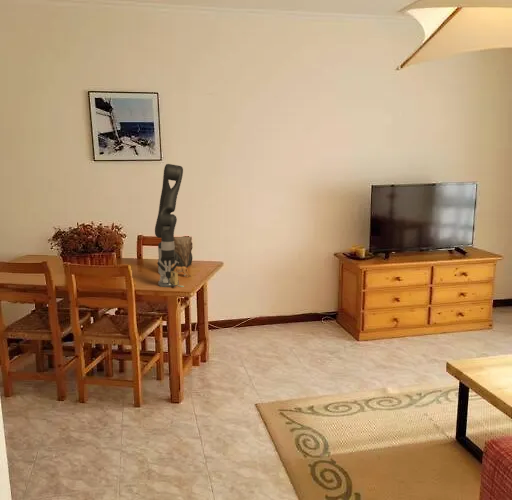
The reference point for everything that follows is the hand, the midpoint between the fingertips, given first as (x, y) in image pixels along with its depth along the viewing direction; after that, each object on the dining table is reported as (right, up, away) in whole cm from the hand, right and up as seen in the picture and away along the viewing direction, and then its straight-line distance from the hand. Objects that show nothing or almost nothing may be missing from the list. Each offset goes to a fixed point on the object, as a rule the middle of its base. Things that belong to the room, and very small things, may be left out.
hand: (168, 277), depth 287 cm
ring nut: (0, -3, +6) cm, 7 cm away
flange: (-1, -5, +9) cm, 10 cm away
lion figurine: (+2, -1, +27) cm, 27 cm away
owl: (0, +5, +56) cm, 56 cm away
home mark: (+7, -5, +5) cm, 10 cm away
